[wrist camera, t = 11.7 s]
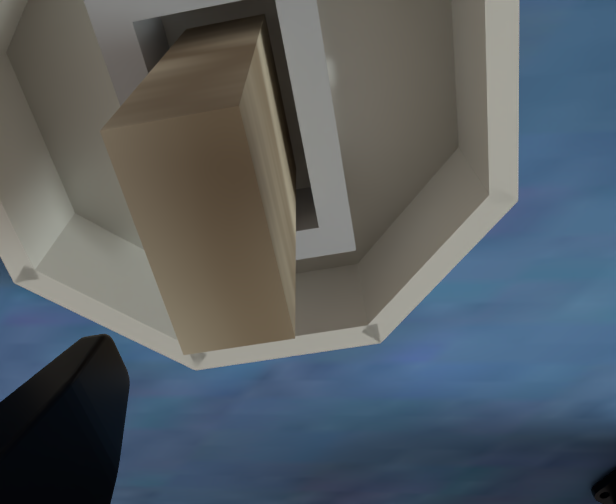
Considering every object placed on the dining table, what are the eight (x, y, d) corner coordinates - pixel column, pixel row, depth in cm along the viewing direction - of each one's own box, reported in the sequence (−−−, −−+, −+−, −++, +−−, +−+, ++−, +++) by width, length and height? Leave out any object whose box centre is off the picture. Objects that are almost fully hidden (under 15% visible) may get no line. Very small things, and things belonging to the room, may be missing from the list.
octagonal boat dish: (106, 309, 24) (69, 388, 20) (-84, -123, 16) (-202, -129, 12) (480, 250, 23) (517, 322, 19) (463, -245, 15) (520, -294, 11)
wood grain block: (227, 180, 20) (183, 355, 12) (186, 28, 18) (100, 130, 10) (296, 168, 20) (295, 338, 12) (265, 13, 17) (238, 105, 10)
